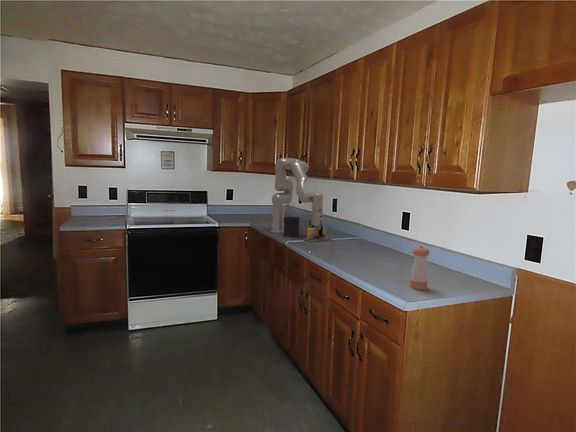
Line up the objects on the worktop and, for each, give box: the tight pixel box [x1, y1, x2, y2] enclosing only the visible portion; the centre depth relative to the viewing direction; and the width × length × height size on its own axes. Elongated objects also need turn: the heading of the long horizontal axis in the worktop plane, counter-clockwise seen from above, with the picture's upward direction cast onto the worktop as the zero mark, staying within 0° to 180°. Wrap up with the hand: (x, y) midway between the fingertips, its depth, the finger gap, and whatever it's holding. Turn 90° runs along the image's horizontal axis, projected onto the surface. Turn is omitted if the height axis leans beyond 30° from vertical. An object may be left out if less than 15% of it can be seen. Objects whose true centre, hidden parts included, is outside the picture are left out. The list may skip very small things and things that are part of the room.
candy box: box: [306, 226, 327, 240], centre depth 267 cm, size 16×2×8 cm, turn 124°
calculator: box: [283, 216, 300, 238], centre depth 277 cm, size 11×4×15 cm, turn 76°
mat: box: [300, 236, 332, 244], centre depth 268 cm, size 12×19×1 cm, turn 124°
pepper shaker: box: [409, 245, 430, 291], centre depth 164 cm, size 7×7×19 cm
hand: (316, 233), depth 267 cm, fingers open, 8 cm apart
